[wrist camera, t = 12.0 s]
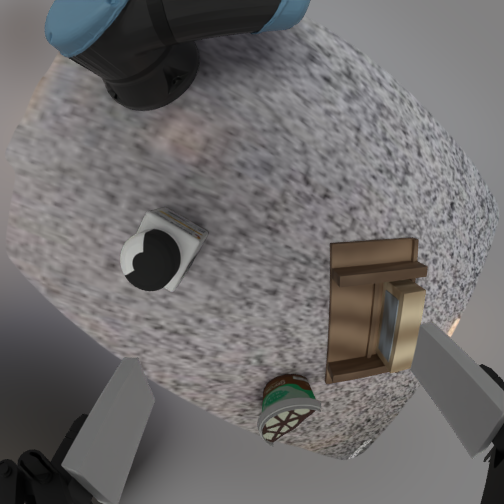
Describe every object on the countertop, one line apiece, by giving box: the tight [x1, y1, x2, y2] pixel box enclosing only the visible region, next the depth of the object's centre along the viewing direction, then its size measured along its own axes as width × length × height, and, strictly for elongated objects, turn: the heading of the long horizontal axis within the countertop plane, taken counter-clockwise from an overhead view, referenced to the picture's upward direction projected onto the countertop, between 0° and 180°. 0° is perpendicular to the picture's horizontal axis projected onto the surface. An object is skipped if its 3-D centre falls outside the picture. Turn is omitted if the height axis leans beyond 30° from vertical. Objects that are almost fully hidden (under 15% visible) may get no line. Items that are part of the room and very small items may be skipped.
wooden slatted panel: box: [325, 238, 427, 384], centre depth 41 cm, size 26×15×5 cm, turn 4°
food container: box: [257, 374, 321, 447], centre depth 42 cm, size 12×6×10 cm, turn 142°
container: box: [120, 207, 208, 292], centre depth 34 cm, size 8×8×13 cm
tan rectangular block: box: [375, 279, 426, 373], centre depth 39 cm, size 14×4×7 cm, turn 4°
